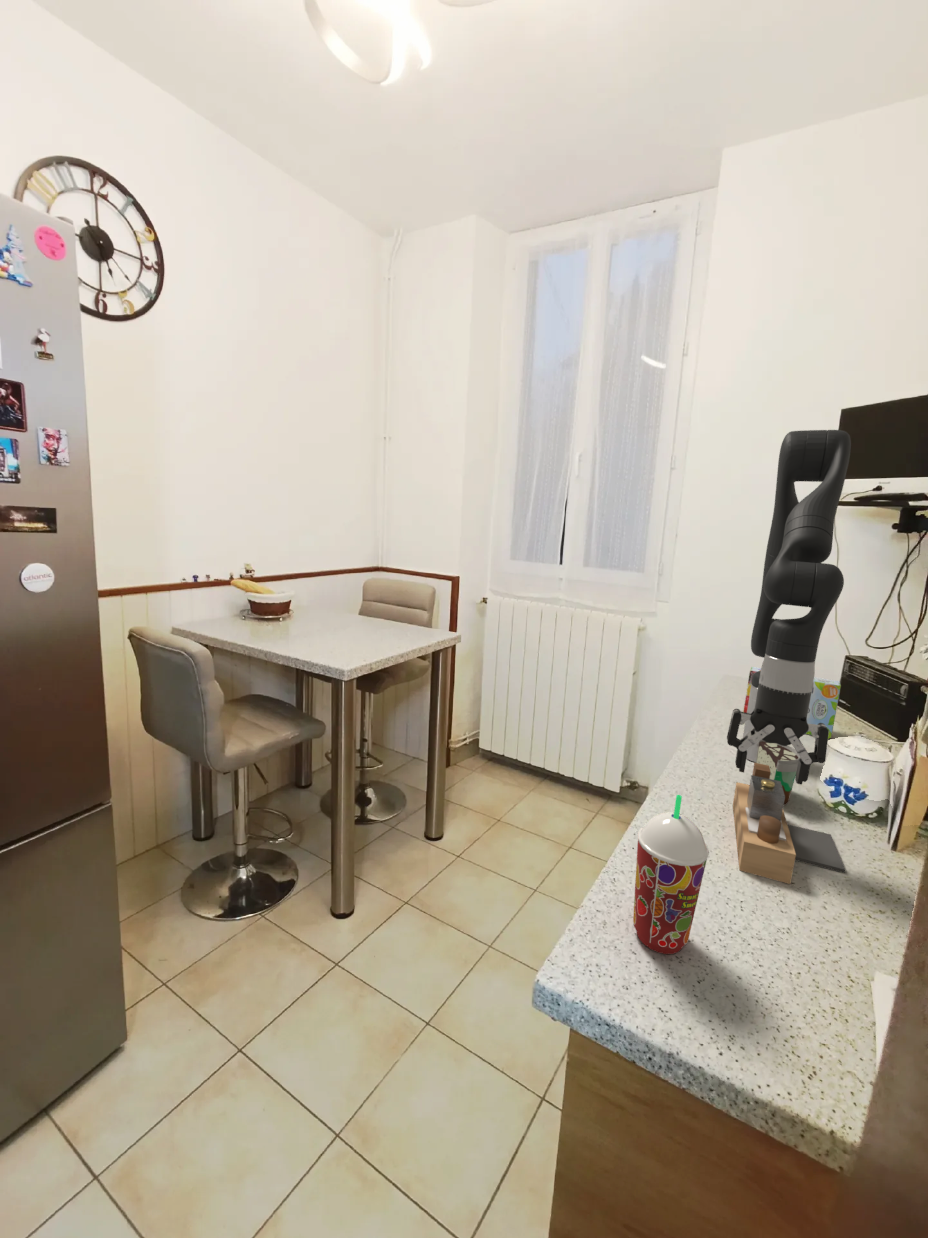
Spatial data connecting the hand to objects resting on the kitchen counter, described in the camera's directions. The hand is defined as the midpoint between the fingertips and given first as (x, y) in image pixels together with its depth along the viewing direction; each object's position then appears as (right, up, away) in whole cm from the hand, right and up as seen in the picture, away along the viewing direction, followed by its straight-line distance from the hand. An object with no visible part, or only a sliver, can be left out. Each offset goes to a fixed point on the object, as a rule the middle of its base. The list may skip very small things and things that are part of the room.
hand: (769, 776), depth 92 cm
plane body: (-1, -12, +2) cm, 12 cm away
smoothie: (-26, -15, -21) cm, 37 cm away
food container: (+12, -10, +19) cm, 24 cm away
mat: (+8, -13, +1) cm, 15 cm away
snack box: (+37, -4, +58) cm, 69 cm away
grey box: (0, -7, +1) cm, 7 cm away
